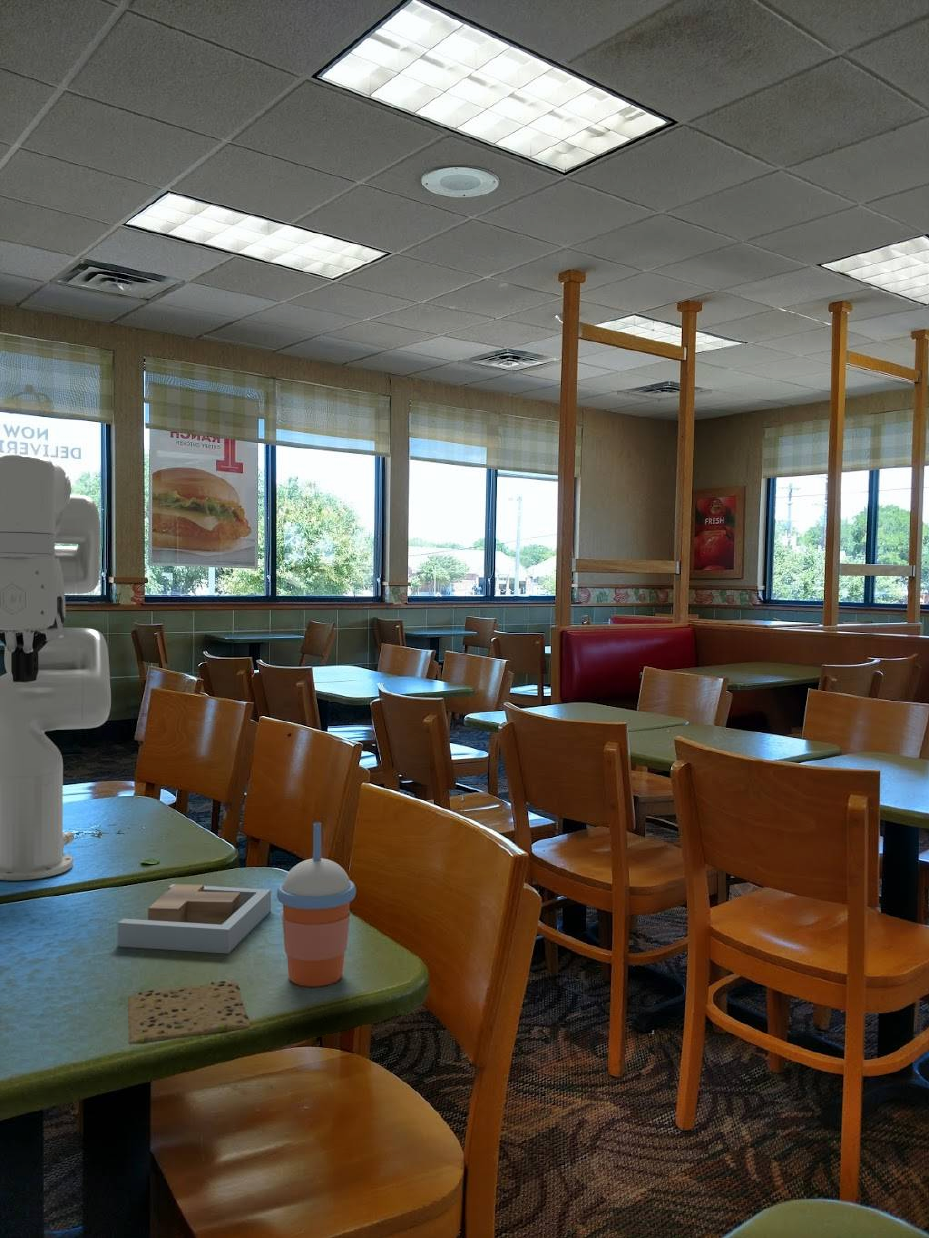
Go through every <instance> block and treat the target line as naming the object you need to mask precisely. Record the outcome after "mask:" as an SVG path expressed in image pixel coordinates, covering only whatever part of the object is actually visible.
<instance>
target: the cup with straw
mask: <svg viewBox="0 0 929 1238" xmlns="http://www.w3.org/2000/svg"><path fill="white" fill-rule="evenodd" d="M312 836H313V837H312V838H313V841H312V842H313V843H312V849H313V851H312V858H309V859H305V860H303V861H301V862H299V863H297V864H296V865H294V866H293V867H292V868H291V869H290V870H289V872H288V873H287V874H286V875H285V878H284V881H282V882H281V883H280V884H279V885H278V887H277V889H276V898H277V900H278V901H279V903H280V904H281V905H282V911H283V912H282V914H281V918H282V932H283V942H284V943H283V944H284V952H285V954H286V958H287V959H286V960H287V961H286V962H287V969H288V970H287V971H288V979H289V980H290V981H291V982H292V983H293V984H295V985H298V986H302V987H307V988H311V987H312V988H314V987H315V988H318V987H324V986H329V985H332V984H334V983H336V982H338V981H339V980H340V979H341V978H342V976H343V971H344V963H345V962H344V961H345V952H346V951H347V949H348V948H347V947H348V937H349V929H350V928H349V927H350V921H351V920H350V918H351V910H350V905H351V904H350V903H351V902H352V901H353V900H354V898H355V897H356V894H357V890H356V889H357V888H356V886H355V883H354V882H353V881H352V880H351V879H350V878H349V876H348V874H347V872H346V870H345V869H344V868H343V867H342V866H341V865H340V864H338V863H337V862H335V861H333V860H331V859H326V858H322V854H321V853H322V823H321V822H313V835H312Z"/></svg>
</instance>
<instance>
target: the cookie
mask: <svg viewBox="0 0 929 1238" xmlns="http://www.w3.org/2000/svg"><path fill="white" fill-rule="evenodd" d="M240 990H241V988H240V986H239V984H238V983H237V982H236V981H226V980H222V981H219V982H215V981H211V982H210V983H205V984H199V985H198V984H197V985H195V986H193V985H192V986H187V987H181V988H174V989H171V988H170V989H160V990H154V989H151V990H147V991H146V992H142V991H140V992H138V993H136V994H132V995H128V997H127V1012H128V1026H127V1027H128V1044H129V1045H132V1044H133V1045H135V1044H145V1043H149V1042H156V1041H164V1040H170V1039H171V1040H172V1039H177V1038H185V1037H191V1036H192V1035H193V1036H201V1035H207V1034H214V1033H222V1032H228V1031H236V1030H243V1029H244V1030H245V1029H249V1028H250V1025H251V1024H250V1022H249V1016H248V1014H247V1011H246V1010H245V1004H244V1001H243V999H242V995H241V992H240ZM190 1035H191V1036H190Z"/></svg>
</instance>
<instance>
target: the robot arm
mask: <svg viewBox="0 0 929 1238" xmlns="http://www.w3.org/2000/svg"><path fill="white" fill-rule="evenodd" d="M56 544H63V546H62V545H56ZM64 544H69V546H68V545H67V546H66V545H64ZM70 544H71V545H72V544H76V545H77V546H70ZM100 575H101V518H100V513H99V510H98V506H97V504H96V503H95V502H94V500H93V499H92V498H90V497H89V496H88V495H82V494H72V485H71V479H70V476H69V475H67V473H66V471H65V470H64V469H63V468H62V467H61V466H60V465H58V464H56V463H53V462H52V461H51V460H49V459H48V458H45V457H41V456H37V455H36V456H35V455H34V456H33V455H25V454H9V455H3V456H0V641H1V642H2V644H4V657H3V659H4V667H5V671H6V673H4V674H2V675H0V881H16V882H17V881H31V880H38V879H43V878H49V877H50V878H51V877H53V876H56V875H61V874H63V873H65V872H67V871H69V870H70V869H72V867H73V866H74V859H73V857H72V856H71V855H70V854H67V853H64V848H65V846H66V845H69V844H71V843H72V842H73V841H74V840H75V836H74V833H73V832H71V831H65V832H63V831H64V829H63V825H64V824H63V823H64V822H63V820H64V818H63V817H64V813H63V812H64V810H63V808H64V806H63V805H64V804H63V800H64V797H63V793H64V791H63V789H64V787H63V786H64V779H63V778H64V762H63V760H64V759H63V756H62V753H61V751H60V750H59V748H58V746H57V745H56V744H55V743H54V742H53V741H52V740H51V739H50V738H49V737H48V736H47V734H45V732H50V731H56V730H60V731H61V730H64V731H65V730H82V729H84V730H85V729H86V730H87V729H94V728H98V727H101V726H102V725H104V724H105V723H106V722H107V720H108V718H109V716H110V713H111V706H112V694H111V693H112V689H111V678H110V677H111V674H110V660H109V658H110V657H109V651H108V650H109V649H108V644H107V641H106V638H105V636H104V635H103V634H102V633H101V632H100V631H98V630H96V629H94V628H90V627H64V625H65V624H66V623H65V622H66V611H67V610H66V595H71V594H72V595H80V594H81V595H82V594H83V595H84V594H88V593H91V592H93V591H94V590H95V589H96V588H97V587H98V585H99V580H100Z"/></svg>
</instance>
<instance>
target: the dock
mask: <svg viewBox="0 0 929 1238" xmlns="http://www.w3.org/2000/svg"><path fill="white" fill-rule="evenodd" d="M175 884H176V883H171V885H169V886H168V887H167V891H168V890H169V889H171V888H172V887H173V886H174V885H175ZM204 892H240V908H239V909H238V910H237V911H236V912H235V913H234V914H233V915H232V916H231V917H230V918H229V919H227V920H226V921H225V922H224V923H223V924H222V925H218V924H202V923H185V922H169V921H153V920H148V919H136V918H134V919H133V918H122V919H121V920H120V921H118V922H117V942H116V943H117V945H116V947H120V948H121V947H123V948H137V949H150V950H151V949H153V950H168V951H182V952H184V951H185V952H196V953H198V952H200V953H211V954H213V953H214V954H225V955H226V954H227V955H228V954H230V953H231V952H232V951H233V950H234V949H235V948H236V947H237V946H238V945H239V944H240V943H241V942H242V941H243V940H244V939H245V938H246V937H247V936H248V935H249V934H250V933H251V932H252V931H253V929H255V928H256V927H257V926H258V925H259V924H260V923H261V922H262V921H263V919H265V918H266V916H267V915H269V913H271V912H272V889H267V888H266V889H265V888H251V887H250V888H248V887H234V886H232V887H231V886H230V887H229V886H214V885H212V886H211V885H204Z"/></svg>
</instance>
